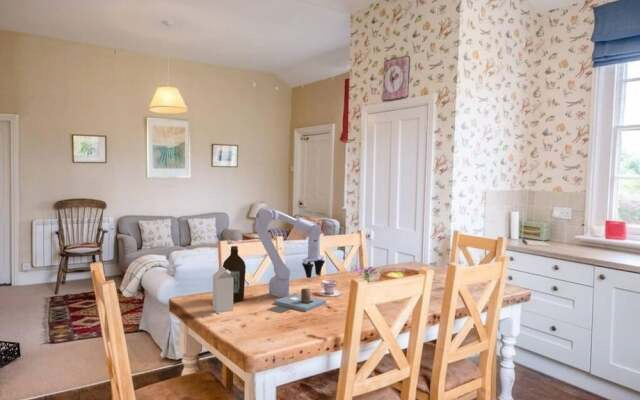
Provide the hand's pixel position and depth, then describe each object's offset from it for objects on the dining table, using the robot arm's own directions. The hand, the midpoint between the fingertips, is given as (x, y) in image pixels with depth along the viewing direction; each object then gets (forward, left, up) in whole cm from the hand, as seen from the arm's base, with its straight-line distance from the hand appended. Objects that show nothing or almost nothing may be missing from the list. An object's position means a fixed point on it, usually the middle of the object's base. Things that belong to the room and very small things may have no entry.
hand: (313, 276), depth 216 cm
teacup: (+5, +8, -10) cm, 13 cm away
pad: (+4, -30, -9) cm, 32 cm away
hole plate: (+6, -18, -9) cm, 21 cm away
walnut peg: (+9, -18, -9) cm, 22 cm away
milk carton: (-15, -45, -10) cm, 48 cm away
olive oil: (-24, -30, -10) cm, 40 cm away
